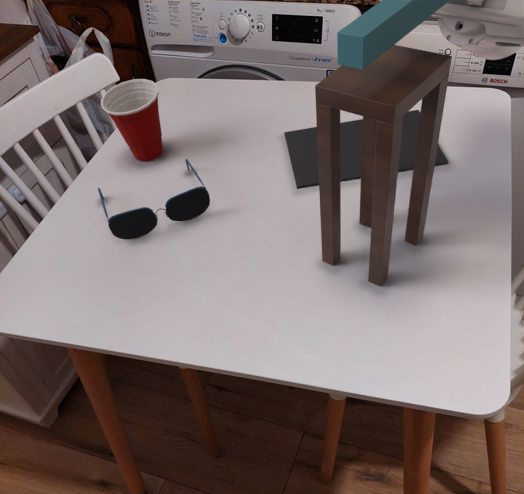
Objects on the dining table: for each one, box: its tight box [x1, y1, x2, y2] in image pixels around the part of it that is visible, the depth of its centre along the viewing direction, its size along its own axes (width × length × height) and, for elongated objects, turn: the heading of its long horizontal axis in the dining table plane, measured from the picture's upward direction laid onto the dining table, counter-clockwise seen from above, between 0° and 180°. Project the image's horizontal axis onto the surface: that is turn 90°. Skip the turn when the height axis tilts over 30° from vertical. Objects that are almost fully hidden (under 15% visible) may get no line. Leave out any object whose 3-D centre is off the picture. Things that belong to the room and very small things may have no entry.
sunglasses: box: [97, 158, 211, 241], centre depth 89 cm, size 17×15×5 cm
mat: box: [283, 109, 449, 189], centre depth 93 cm, size 26×18×1 cm
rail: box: [336, 0, 450, 70], centre depth 55 cm, size 22×3×3 cm, turn 141°
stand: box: [314, 44, 453, 287], centre depth 67 cm, size 12×10×26 cm
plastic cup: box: [100, 78, 164, 162], centre depth 96 cm, size 11×11×12 cm
